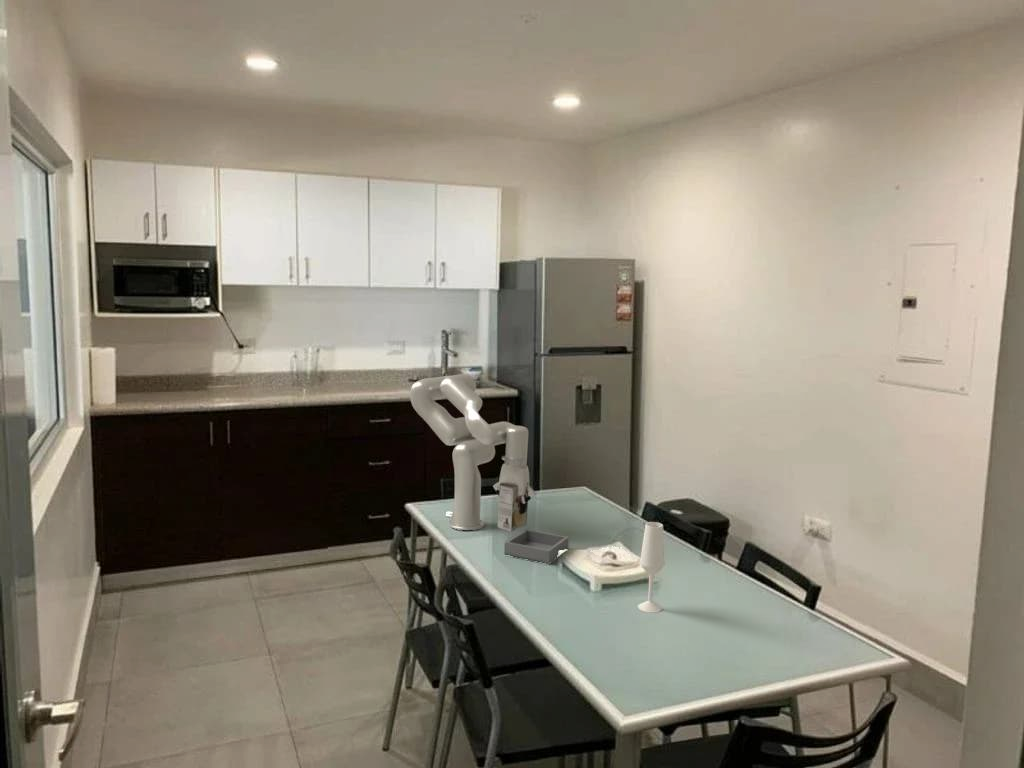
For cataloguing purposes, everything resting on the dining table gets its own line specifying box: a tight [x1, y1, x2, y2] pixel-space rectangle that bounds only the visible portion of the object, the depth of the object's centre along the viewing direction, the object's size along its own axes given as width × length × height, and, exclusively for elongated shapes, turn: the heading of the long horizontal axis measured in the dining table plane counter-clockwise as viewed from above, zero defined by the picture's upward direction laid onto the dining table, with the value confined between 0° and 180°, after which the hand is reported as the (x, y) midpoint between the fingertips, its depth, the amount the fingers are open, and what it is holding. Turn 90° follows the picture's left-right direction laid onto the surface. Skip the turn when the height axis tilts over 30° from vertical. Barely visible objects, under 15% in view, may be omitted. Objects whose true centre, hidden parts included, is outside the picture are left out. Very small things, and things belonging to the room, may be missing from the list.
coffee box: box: [497, 483, 529, 532], centre depth 270 cm, size 9×6×16 cm
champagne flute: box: [637, 521, 666, 613], centre depth 214 cm, size 7×7×24 cm
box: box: [503, 528, 570, 565], centre depth 257 cm, size 16×16×4 cm
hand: (512, 510), depth 270 cm, fingers closed on coffee box, 7 cm apart
